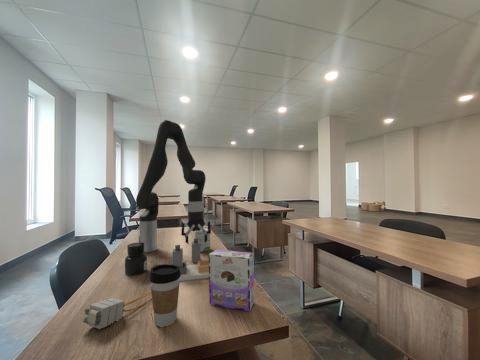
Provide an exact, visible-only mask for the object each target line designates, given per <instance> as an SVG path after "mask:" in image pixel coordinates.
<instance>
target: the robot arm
mask: <svg viewBox="0 0 480 360" xmlns="http://www.w3.org/2000/svg"><path fill="white" fill-rule="evenodd" d="M155 138H156V139H155V143H154V147H153V151H152V154H151V157H150V160H149V163H148V165H147V169H146V173H145V175H144V178H143V181H142V183H141V186H140V188H139V191H138V193H137V195H136V199H135V204H136V205H135V206H136V207H137V208H138V210H139V209H140V210H144V212H143V213H142V214H140V215H139V218H138V219H139V235H138V242H141V243H144V249H145V250H144V253H145V254H146V253H152V252H155V251H157V250H158V219H157V218H158V215H159V206H160V205H159V203H160V202H159V196H158V194H157V193H156V192H154V191H153V189H154V187H155V186H156V185H157V183H158V182H159V181H160V180H161V179H162V178H163V176H164V175H165V172H166V169H167V167H168V163H169V162H168V156H167V151H166V147H167V141H168V140H173V142H174V143H175V144H176V146H177V150H176V157H177V161H178V162H179V164H180V166H181V168H182V169H181V170H182V174H183V178H184V181H185V182H186V183H187V184H188V185H194V186H193V188H192V189H189V190H188V191H187V193H188V195H187V196H188V197H187V199H188V200H187V202H188V203H187V219H188V220H187V222H184V221H183V222H182V223H181V233H180V235H181V236H183V237H184V238H185V243H186V245H189V235H190V234H191V232H194V231H200V230H202V232H203V233H204V242H205V243H206V241H207V235H208V234H209V233H210V234H211V233H212V230H211V221H210V220H207V221H205V219H204V215H205V214H204V201H203V199H204V197H203V195H204V194H203V192H204V189H205V184H206V180H207V179H206V174H205V172H204V171H203V170H200V169H194V168H195V167H196V161H195V159H194V157H193V155H192V153H191V152H190V149H189V147H188V145H187V141H186V138H185V135H184V132H183V128H182V126H181V125H180V124H179V123H177V122H173V121H171V120H168V119H163V120H161V122H160V123H159V127H158V128H157V133H156V137H155ZM204 226H207V229H208V231H205V229H206V228H204ZM186 227H188V229H187V231H186V232H185V228H186Z"/></svg>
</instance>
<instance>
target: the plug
mask: <svg viewBox="0 0 480 360" xmlns="http://www.w3.org/2000/svg"><path fill="white" fill-rule="evenodd" d="M198 261H201V252H200V241H199V242H198V238H194V237H193V241H191V263H193V264H194V263H195V264H196V263H198Z"/></svg>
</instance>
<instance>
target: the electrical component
mask: <svg viewBox="0 0 480 360" xmlns="http://www.w3.org/2000/svg"><path fill="white" fill-rule="evenodd" d="M149 295H152V293H151V291H150V292H148V293H146V294H144V295H142V296H140V297H137V298H136V299H133V300H131V301H129V302H127V303H125V301H124V300H122V299H117V298H114V297H110V298H108V299H105V300H100V301H99V302H95V303H91V304H90V305H89V306H90V307H87V308H85V309H84V315H86V317H84V319H83V321H82V323H86V325H87V326H90V327H93V328H96V329H98V330H101V329H102V328H103V329H104V328H106V327H108V326H110V325H112V324H114V323H115V322H114V321H117V320H119V319H121V320H122V317H123V314H124V312H131V311H134V310H137V309H139V308H140V306H141V307H143V306H144V305H146V304H148V303H149V302H151V301H152V298H150V299H149V300H147V301H145V302H144V303H142V304H141V305H138V306H135V307H133V308H130V309H124V308H125V307H126V306H128V305H131V304H133V303H134V302H137V301H139V300H141V299H142V298H144V297H147V296H149ZM147 302H148V303H147ZM145 303H146V304H145ZM143 304H144V305H143ZM119 321H120V320H119ZM113 322H114V323H113ZM117 322H118V321H117ZM111 323H112V324H111Z"/></svg>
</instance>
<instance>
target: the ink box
mask: <svg viewBox="0 0 480 360" xmlns="http://www.w3.org/2000/svg"><path fill="white" fill-rule="evenodd" d="M204 229H205V231H208V228H204ZM193 232H194V236H193V239H194V238H198V242H199V241H200V253H201V252H210V251H211V233H209V234H208V235H207V241H206V243H205V242H204V233H203V232H202V230H200V231H193Z"/></svg>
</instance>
